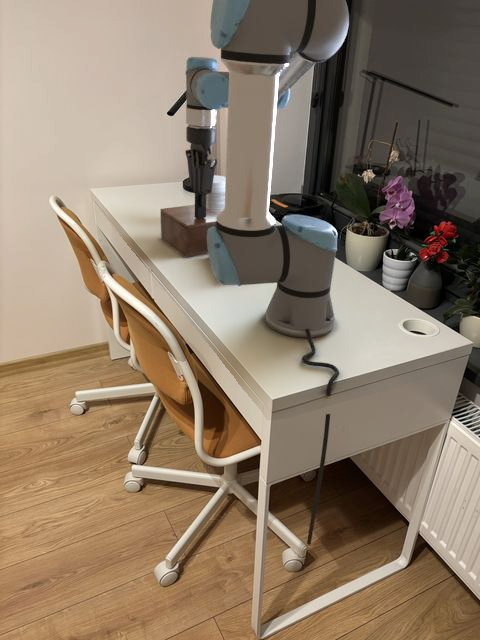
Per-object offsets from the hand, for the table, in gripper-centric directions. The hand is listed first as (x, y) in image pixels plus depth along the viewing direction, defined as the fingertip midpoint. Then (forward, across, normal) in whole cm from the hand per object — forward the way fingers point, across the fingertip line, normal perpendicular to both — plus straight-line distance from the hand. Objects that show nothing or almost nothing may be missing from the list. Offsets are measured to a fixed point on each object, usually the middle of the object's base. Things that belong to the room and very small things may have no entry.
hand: (200, 217), depth 152 cm
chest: (+10, +4, 0) cm, 11 cm away
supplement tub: (+10, +17, -14) cm, 24 cm away
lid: (+1, +4, 0) cm, 4 cm away
